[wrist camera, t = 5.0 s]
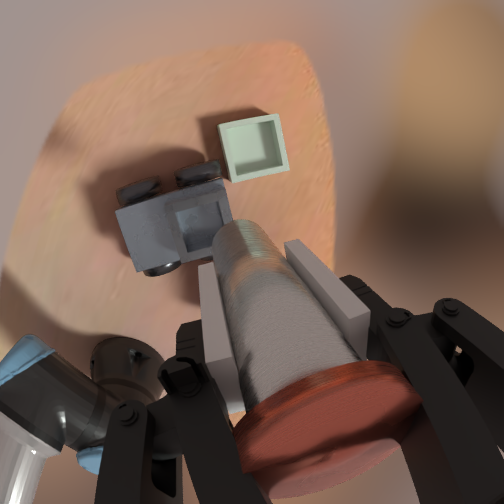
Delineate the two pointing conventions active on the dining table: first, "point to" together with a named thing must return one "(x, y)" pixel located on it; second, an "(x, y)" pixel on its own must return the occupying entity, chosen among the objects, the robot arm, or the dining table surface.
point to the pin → (301, 376)
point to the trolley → (173, 218)
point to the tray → (253, 147)
